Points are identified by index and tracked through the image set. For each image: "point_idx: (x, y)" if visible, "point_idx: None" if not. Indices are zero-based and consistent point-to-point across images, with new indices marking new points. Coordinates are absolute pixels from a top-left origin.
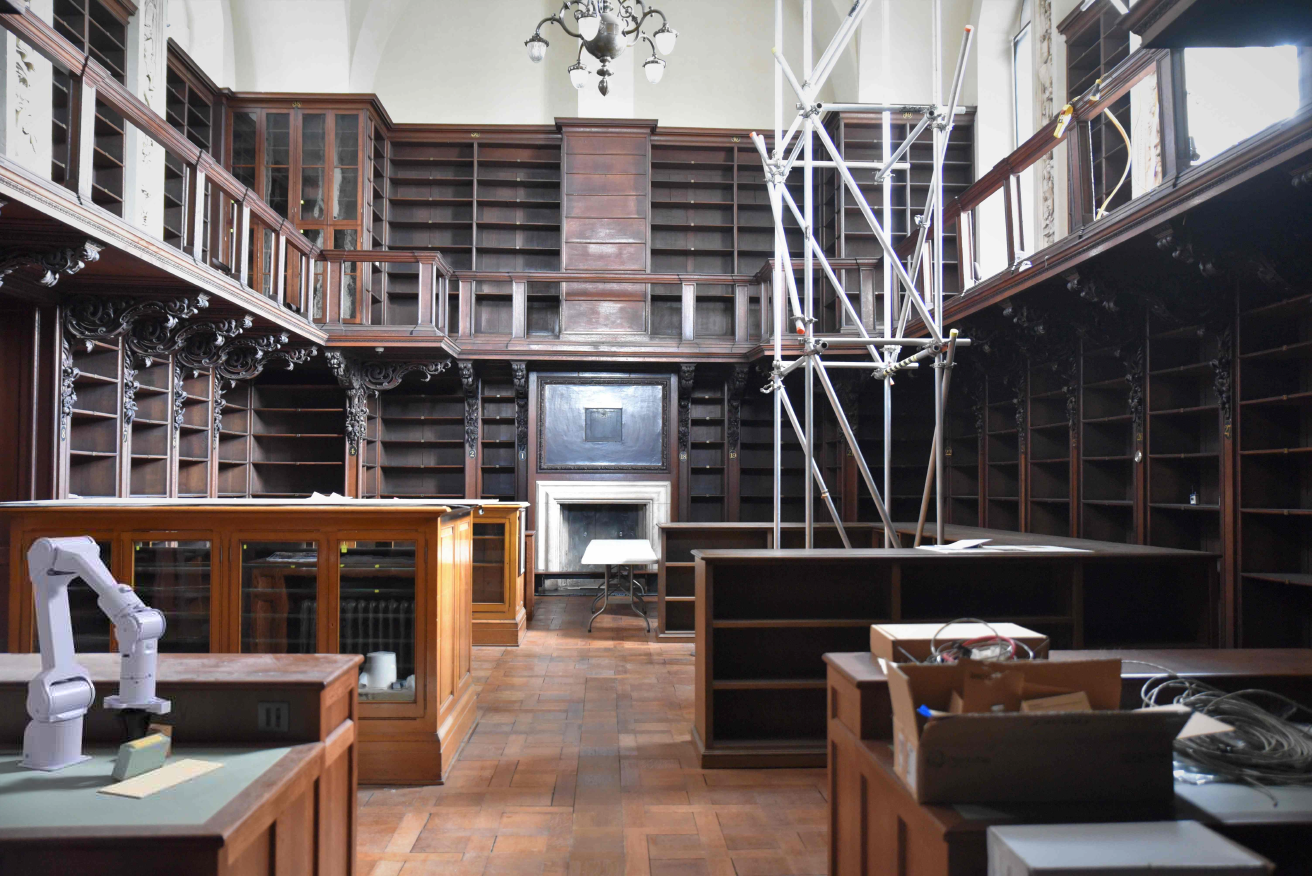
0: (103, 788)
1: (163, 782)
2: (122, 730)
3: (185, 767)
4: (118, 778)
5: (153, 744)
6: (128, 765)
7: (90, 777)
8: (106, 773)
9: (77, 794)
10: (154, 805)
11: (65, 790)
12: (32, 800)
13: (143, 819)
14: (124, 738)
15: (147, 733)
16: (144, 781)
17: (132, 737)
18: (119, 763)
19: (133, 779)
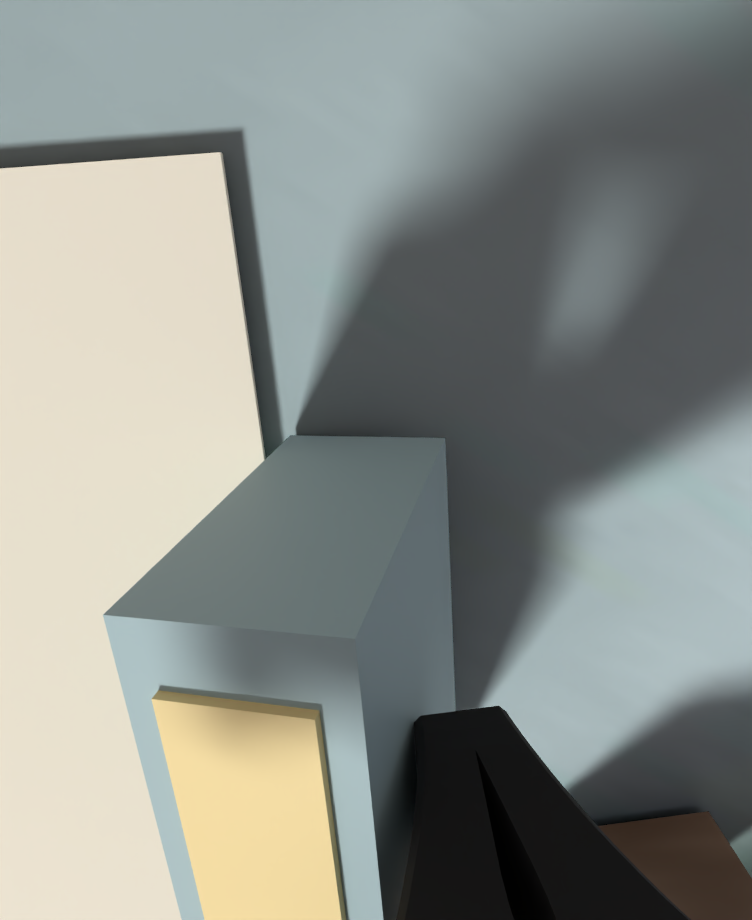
0: (224, 212)
1: None
2: (663, 917)
3: (127, 827)
4: (345, 440)
5: (185, 886)
6: (209, 515)
7: (714, 412)
8: (669, 527)
9: (389, 36)
10: None
11: (623, 71)
12: None
13: None
14: (573, 807)
15: None
16: (65, 504)
17: (414, 859)
18: (351, 501)
19: (223, 498)
